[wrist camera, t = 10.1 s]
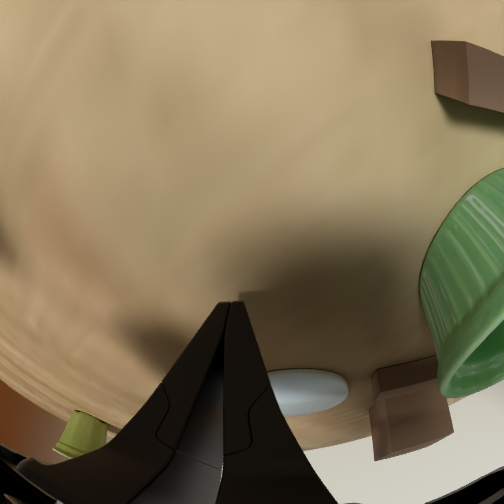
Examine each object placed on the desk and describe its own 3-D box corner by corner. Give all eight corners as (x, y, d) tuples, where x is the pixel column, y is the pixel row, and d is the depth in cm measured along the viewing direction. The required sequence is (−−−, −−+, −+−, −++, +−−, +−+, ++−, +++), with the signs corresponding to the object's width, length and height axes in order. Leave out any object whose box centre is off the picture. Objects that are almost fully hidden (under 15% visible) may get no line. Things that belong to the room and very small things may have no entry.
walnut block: (418, 398, 18) (427, 446, 14) (368, 410, 19) (374, 461, 15) (440, 375, 15) (453, 432, 11) (382, 389, 16) (391, 452, 12)
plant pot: (60, 399, 28) (45, 447, 21) (117, 423, 30) (105, 473, 23) (70, 411, 33) (58, 451, 26) (117, 431, 35) (108, 472, 28)
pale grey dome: (341, 403, 17) (341, 410, 16) (247, 410, 18) (246, 417, 17) (354, 362, 13) (356, 371, 12) (223, 371, 14) (222, 381, 13)
